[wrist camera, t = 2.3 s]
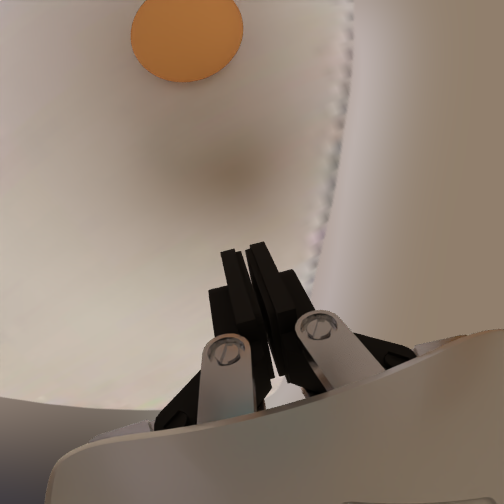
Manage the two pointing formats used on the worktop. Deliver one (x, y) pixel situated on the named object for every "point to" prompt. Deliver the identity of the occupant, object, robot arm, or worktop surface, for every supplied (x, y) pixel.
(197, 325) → the worktop surface
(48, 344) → the worktop surface
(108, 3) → the worktop surface
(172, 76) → the ball
